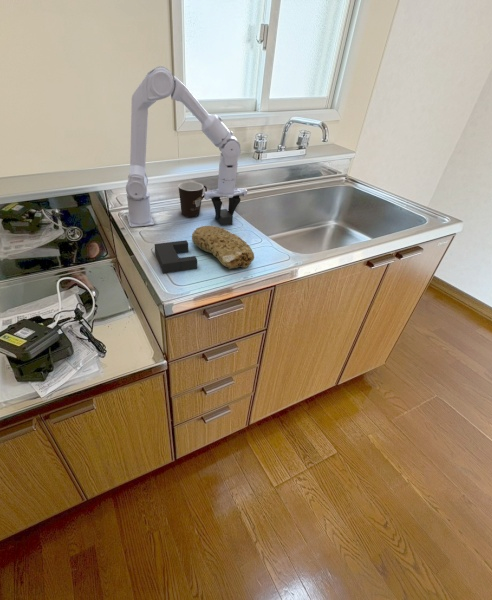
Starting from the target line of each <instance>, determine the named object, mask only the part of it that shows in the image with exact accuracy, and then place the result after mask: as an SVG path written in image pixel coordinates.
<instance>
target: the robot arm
mask: <svg viewBox="0 0 492 600" xmlns="http://www.w3.org/2000/svg"><path fill="white" fill-rule="evenodd" d="M169 97H170V99H171V100H172V101H176V102H180V103H182V104H183V105H184V107H186V108H187V109H188V111H189V112H190V113H191V114H192V115H193V116H194V117H195V118H196V119H197V120H198V121H199V122H200V123H201V132H202V133H203V134H204V135H205V136H206V137H207V138H208V139H209V141H210V142H211V143H212V144H213V145H214V146H215V147H216V148H218V149H219V151H220V157H219V163H218V177H217V188H216V189H212V190H207V192H205V191H203V195H204V198H203V199H205V200H209V199H211V202H212V205H213V208H214V212H215V215H216V218H217V219H220V211H221V209H222V206H223V201H222V199H221V198H228V209H227V210H228V211H229V213H230V214H231V215H232V216H233V217H234V213H235V211H236V209H237V207H238V206H239V204H240V203H241V201H242V199H241V197H247V196H248V189H246V188H236V182H237V174H238V161H239V157H240V156H241V153H242V147H241V144H240V142H239V140H238V138H237V137H236V136H235V135H234V132H233V131H232V130H229V129H228V127H227V126H226V125H225V124H224V122H223V121H224V120H223V118H222V117H221V116H220V115H219V116H218V115H217V114H210V113H209V112H208V111H207V110H206V109H205V107H203V105H202V104H201V103H200V102H199V100H198V99H197V97H196V96H194V94H193V92H192V91H190V89H189V88H188V87H187V85H186V84H184V83H183V82H182V81H181V80H180V79H179V78H178V77H177V76H175V75H172V72H171V70H170V69H168V68H167V67H165V66H161V65H160V66H156V67H154V68H153V69H152V70H150V71H149V72H147V74H146V75H145V76H144V78H143V79H142V80H141V82H140V83H139V85H137V87H136V88H135V90H134V92H133V93H132V95H131V107H130V108H131V109H130V110H131V111H130V113H131V115H130V153H129V154H130V157H129V159H130V161H129V172H128V173H129V174H128V177H127V181H126V184H125V191H126V200H127V201H126V203H127V211H128V213H127V214H126V219H127V221H128V224H129V227H130V228H136V227H137V228H138V227H146V226H147V227H149V226H155V221H154V220H153V218H152V212H151V211H152V210H151V198H150V192H149V191H148V183H149V179H148V176H147V174H146V161H147V144H148V143H147V142H148V141H147V140H148V122H149V108H150V107H151V106H153V105H154V104H155V103H156V102H157V101H160V100H165V99H167V98H169ZM216 218H215V219H216ZM217 219H216V220H217Z"/></svg>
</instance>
